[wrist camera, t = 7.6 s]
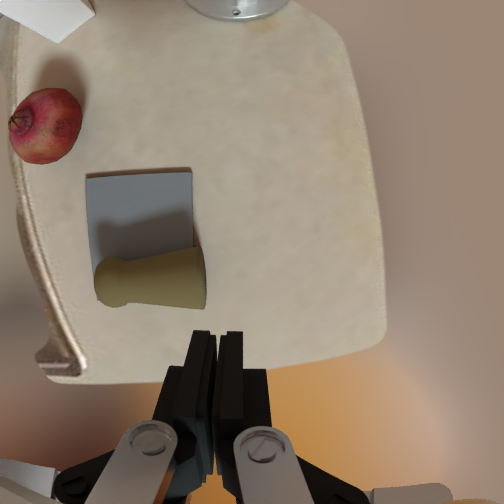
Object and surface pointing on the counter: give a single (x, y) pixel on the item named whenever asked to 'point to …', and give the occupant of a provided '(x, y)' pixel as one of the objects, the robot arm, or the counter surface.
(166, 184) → the grey mat
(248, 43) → the counter surface
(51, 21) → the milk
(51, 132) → the fruit
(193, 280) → the olive brown rounded cylinder
